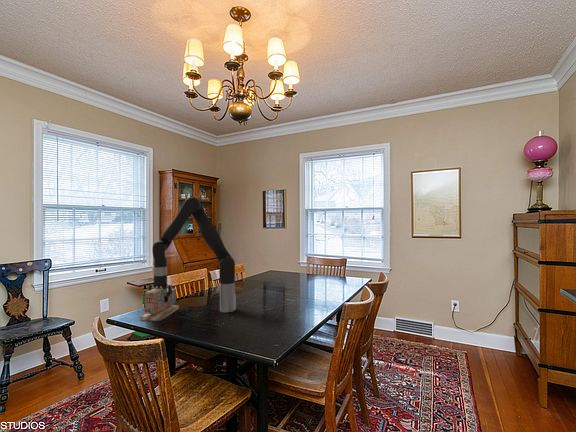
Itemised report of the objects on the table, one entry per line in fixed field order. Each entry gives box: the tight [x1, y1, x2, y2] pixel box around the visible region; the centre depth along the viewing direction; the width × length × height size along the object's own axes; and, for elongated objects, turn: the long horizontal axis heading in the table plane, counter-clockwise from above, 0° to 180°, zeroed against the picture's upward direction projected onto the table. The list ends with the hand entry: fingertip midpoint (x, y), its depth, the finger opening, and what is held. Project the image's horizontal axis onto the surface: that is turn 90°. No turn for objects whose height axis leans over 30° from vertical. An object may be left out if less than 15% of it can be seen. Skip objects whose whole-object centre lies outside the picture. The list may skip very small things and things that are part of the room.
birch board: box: [139, 305, 180, 322], centre depth 178 cm, size 12×22×2 cm, turn 174°
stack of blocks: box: [144, 287, 177, 314], centre depth 178 cm, size 21×6×12 cm, turn 169°
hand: (160, 302), depth 178 cm, fingers closed on stack of blocks, 6 cm apart
